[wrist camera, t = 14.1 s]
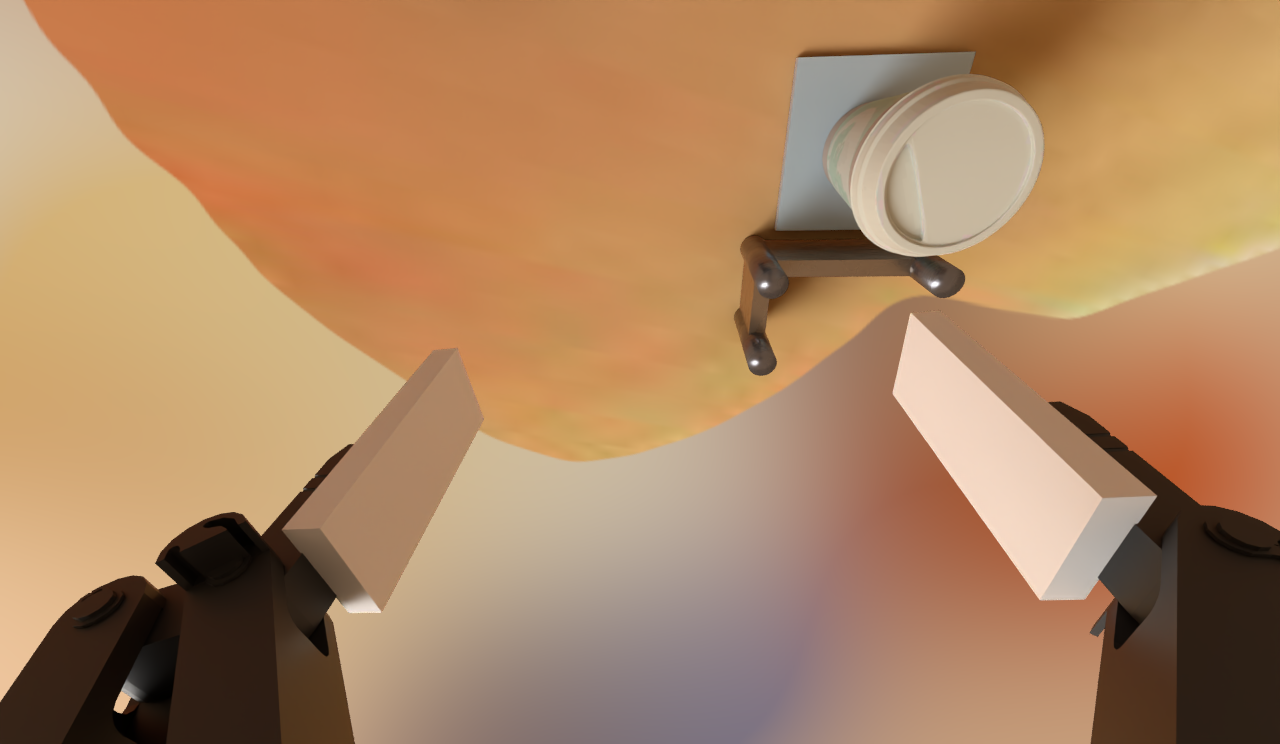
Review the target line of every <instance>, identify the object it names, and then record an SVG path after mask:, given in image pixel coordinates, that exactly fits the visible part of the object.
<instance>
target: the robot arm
mask: <svg viewBox="0 0 1280 744" xmlns="http://www.w3.org/2000/svg"><path fill="white" fill-rule="evenodd" d="M893 395H894V396H895V398H896V399H897V401H898V402H899V403H900V405H901V406H902V407H903V409H904V410H905V412H906V413H907V415H908V416H909V417H910V419H911V420H912V422H913V423H914V424H915V426H916V427H917V429H918V430H919V431H920V433H921V434H922V436H923V437H924V438H925V440H926V441H927V443H928V444H929V445H930V447H931V448H932V450H933V451H934V452H935V454H936V455H937V457H938V458H939V459H940V461H941V462H942V464H943V465H944V466H945V468H946V469H947V470H948V472H949V473H950V475H951V476H952V477H953V479H954V480H955V482H956V483H957V485H958V486H959V487H960V489H961V490H962V492H963V493H964V494H965V496H966V497H967V498H968V500H969V501H970V503H971V504H972V506H973V507H974V508H975V510H976V511H977V512H978V514H979V515H980V517H981V518H982V520H983V521H984V522H985V524H986V525H987V527H988V528H989V529H990V531H991V532H992V534H993V535H994V536H995V538H996V539H997V541H998V542H999V543H1000V545H1001V546H1002V548H1003V549H1004V550H1005V552H1006V553H1007V555H1008V556H1009V557H1010V559H1011V560H1012V562H1013V563H1014V564H1015V566H1016V567H1017V568H1018V570H1019V571H1020V573H1021V574H1022V576H1023V577H1024V579H1025V580H1026V581H1027V583H1028V584H1029V586H1030V587H1031V588H1032V590H1033V591H1034V593H1035V594H1036V595H1037V597H1038V598H1039V599H1040V600H1077V599H1085V598H1086V597H1087V595H1088V594H1089V593H1090V591H1091V590H1092V588H1093V587H1094V585H1095V584H1096V583H1097V581H1098V580H1101V582H1102V583H1103V584H1104V585H1105V586H1106V588H1107V589H1108V590H1109V591H1110V592H1111V593H1112V595H1113V596H1114V597H1115V598H1114V599H1113V601H1112V602H1111V603H1110V605H1109V606H1108V607H1107V609H1106V610H1105V611H1104V613H1103V614H1102V615H1101V617H1100V618H1099V619H1098V620H1097V622H1096V623H1095V624H1094V626H1093V628H1092V630H1091V631H1090V633H1091V634H1093V635H1095V636H1097V637H1098V636H1099V634H1100V633H1101V632H1102V631H1103V629H1105V632H1104V639H1103V648H1102V656H1101V664H1100V672H1099V680H1098V689H1097V697H1096V706H1095V713H1094V721H1093V730H1092V738H1091V744H1280V531H1279V530H1277V529H1275V528H1273V527H1272V526H1270V525H1268V524H1266V523H1264V522H1263V521H1260V520H1258V519H1255V518H1253V517H1250V516H1248V515H1245V514H1243V513H1240V512H1237V511H1233V510H1229V509H1225V508H1221V507H1216V506H1203V505H1202V506H1201V505H1200V504H1198V503H1197V502H1196V501H1195V500H1193V499H1192V498H1191V497H1189V496H1188V495H1187V494H1186V493H1184V492H1183V491H1182V490H1181V489H1180V488H1178V487H1177V486H1176V485H1175V484H1173V483H1172V482H1171V481H1170V480H1168V479H1167V478H1166V477H1165V476H1163V475H1162V474H1161V473H1160V472H1158V471H1157V470H1156V469H1155V468H1153V467H1152V466H1151V465H1150V464H1148V463H1147V462H1146V461H1145V460H1143V459H1142V458H1141V457H1140V456H1139V455H1137V454H1136V453H1135V452H1133V451H1129V450H1128V447H1127V446H1126V445H1125V444H1124V443H1122V442H1121V441H1120V440H1119V439H1117V438H1116V437H1114V436H1110V433H1109V431H1107V430H1106V429H1105V428H1104V427H1102V426H1101V425H1100V424H1098V423H1097V422H1096V421H1095V420H1094V419H1092V418H1091V417H1090V416H1088V415H1087V414H1084V413H1082V412H1080V411H1078V410H1076V409H1074V408H1072V407H1070V406H1068V405H1066V404H1064V403H1062V402H1047V401H1046V400H1044V399H1043V398H1042V397H1041V396H1040V395H1039V394H1037V393H1036V392H1035V391H1034V390H1033V389H1032V388H1030V387H1029V386H1028V385H1027V384H1026V383H1025V382H1023V381H1022V380H1021V379H1020V378H1019V377H1017V376H1016V375H1015V374H1014V373H1013V372H1012V371H1011V370H1009V369H1008V368H1007V367H1006V366H1005V365H1003V364H1002V363H1001V362H1000V361H999V360H997V359H996V358H995V357H994V356H993V355H992V354H990V353H989V352H988V351H987V350H986V349H985V348H984V347H982V346H981V345H980V344H979V343H978V342H977V341H975V340H974V339H973V338H972V337H970V335H968V334H967V333H966V332H965V331H964V330H963V329H961V328H960V327H959V326H958V325H957V324H955V323H954V322H953V321H952V320H951V319H950V318H948V317H947V316H946V315H945V314H944V313H943V312H941V311H940V310H938V311H926V312H925V311H924V312H912V313H911V314H910V318H909V322H908V327H907V331H906V336H905V340H904V345H903V349H902V354H901V359H900V363H899V368H898V372H897V377H896V381H895V385H894V390H893ZM483 420H484V418H483V415H482V412H481V410H480V407H479V404H478V402H477V399H476V396H475V394H474V391H473V388H472V386H471V383H470V380H469V378H468V375H467V372H466V370H465V367H464V364H463V362H462V359H461V356H460V354H459V351H458V348H454V349H441V350H433V351H432V353H431V354H430V355H429V356H428V357H427V359H426V360H425V361H424V362H423V363H422V364H421V366H420V367H419V368H418V369H417V370H416V372H415V373H414V374H413V375H412V376H411V377H410V379H409V380H408V381H407V382H406V383H405V385H404V386H403V387H402V388H401V389H400V390H399V392H398V393H397V394H396V395H395V396H394V398H393V399H392V400H391V401H390V402H389V404H388V405H387V406H386V407H385V408H384V409H383V411H382V412H381V413H380V414H379V416H378V417H377V418H376V419H375V420H374V421H373V422H372V424H371V425H370V426H369V427H368V428H367V429H366V431H365V432H364V433H363V434H362V435H361V437H360V438H359V439H358V440H357V442H355V444H349V445H347V446H346V447H345V448H344V449H342V450H341V451H339V452H338V453H337V454H335V455H334V456H332V457H331V458H330V459H329V460H328V461H327V462H326V463H325V464H324V465H323V467H322V468H321V469H320V470H319V471H318V472H317V473H316V474H315V478H312V479H311V480H310V481H309V482H308V484H307V485H306V486H305V487H304V488H303V489H304V490H303V492H300V493H299V494H298V495H297V496H296V497H295V498H294V500H293V501H292V502H291V503H290V504H289V505H288V506H287V508H286V509H285V510H284V511H283V512H282V513H281V514H280V515H279V517H278V518H277V519H276V520H275V521H274V522H273V523H272V525H271V526H270V527H269V528H268V529H267V530H266V532H265V533H264V534H263V535H262V536H260V534H259V533H258V532H257V531H256V530H255V529H254V527H253V526H252V525H251V524H250V523H249V522H248V520H247V519H246V518H245V517H244V516H243V515H242V514H239V513H235V512H231V513H223V514H219V515H216V516H213V517H211V518H207V519H205V520H203V521H201V522H199V523H197V524H195V525H194V526H192V527H190V528H188V529H187V530H185V531H184V532H182V533H181V534H180V535H178V536H177V537H176V538H174V539H173V540H172V541H171V542H170V543H169V544H168V545H167V546H166V547H165V548H164V549H163V550H162V552H161V553H160V555H159V557H158V559H157V561H156V563H155V564H156V565H158V566H159V567H160V568H161V569H162V570H163V571H164V572H165V573H167V575H168V576H170V577H171V578H172V579H173V580H174V581H175V582H176V583H177V584H175V585H171V586H168V587H165V588H161V589H157V588H155V587H154V586H153V585H152V584H151V583H150V582H148V581H147V580H146V579H145V578H144V577H142V576H129V577H124V578H121V579H117V580H115V581H112V582H110V583H108V584H106V585H103V586H101V587H99V588H97V589H95V590H93V591H92V593H88V594H87V595H85V596H84V597H82V598H81V599H80V600H79V601H78V602H77V603H75V604H74V605H73V606H72V607H70V608H69V609H68V610H67V611H66V612H65V613H64V614H63V615H62V616H61V617H60V618H59V619H58V620H57V622H56V623H55V624H54V625H53V626H52V628H51V629H50V631H49V632H48V634H47V635H46V637H45V638H44V639H43V641H42V642H41V644H40V645H39V647H38V648H37V650H36V651H35V652H34V654H33V655H32V657H31V658H30V660H29V661H28V663H27V664H26V666H25V667H24V668H23V670H22V671H21V673H20V674H19V676H18V677H17V679H16V680H15V681H14V683H13V685H12V686H11V687H10V689H9V690H8V692H7V693H6V695H5V696H4V698H3V699H2V700H1V702H0V744H355V742H354V737H353V731H352V726H351V720H350V715H349V709H348V703H347V698H346V692H345V686H344V681H343V675H342V670H341V664H340V659H339V653H338V648H337V642H336V636H335V631H334V625H333V622H332V620H331V618H330V617H329V615H328V614H327V613H326V612H327V610H328V609H329V607H330V606H331V604H332V603H333V601H334V600H335V598H337V599H338V600H339V602H340V603H341V604H342V605H343V606H344V608H345V609H346V610H347V611H348V613H372V612H373V613H376V612H377V613H379V612H382V611H383V609H384V607H385V606H386V604H387V602H388V600H389V598H390V596H391V594H392V592H393V590H394V588H395V587H396V585H397V583H398V581H399V579H400V577H401V575H402V573H403V572H404V569H405V568H406V566H407V564H408V562H409V560H410V558H411V556H412V554H413V553H414V551H415V549H416V547H417V545H418V543H419V541H420V539H421V537H422V536H423V534H424V532H425V530H426V528H427V526H428V524H429V522H430V520H431V518H432V517H433V515H434V513H435V511H436V509H437V507H438V505H439V503H440V502H441V499H442V498H443V495H444V494H445V492H446V490H447V488H448V486H449V485H450V483H451V481H452V479H453V477H454V475H455V473H456V471H457V469H458V467H459V465H460V464H461V462H462V460H463V458H464V456H465V454H466V452H467V450H468V449H469V447H470V445H471V443H472V441H473V439H474V437H475V435H476V433H477V431H478V430H479V428H480V426H481V424H482V422H483ZM121 691H122V692H124V693H125V694H127V695H128V696H130V697H131V699H130V701H129V703H128V705H127V707H126V709H125V710H124V711H123V713H122V714H121V713H117V712H116V711H114V710H113V709H114V706H115V702H116V700H117V697H118V695H119V694H120V692H121Z"/></svg>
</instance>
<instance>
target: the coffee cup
mask: <svg viewBox="0 0 1280 744" xmlns="http://www.w3.org/2000/svg"><path fill="white" fill-rule="evenodd" d="M1043 156H1044V133H1043V129H1042V124H1041V122H1040V120H1039V117H1038V115H1037V114H1036V112H1035V111H1034V109H1033V108H1032V107H1031V106H1030V104H1029V103H1028V102H1027V101H1026V99H1025V98H1024V97H1023V96H1022V95H1021V94H1020V93H1019V92H1018V91H1017V90H1016V89H1014V88H1013V87H1012V86H1010V85H1008V84H1006V83H1004V82H1002V81H999V80H997V79H994V78H992V77H988V76H985V75H979V74H958V75H952V76H947V77H943V78H940V79H937V80H934V81H932V82H929V83H927V84H925V85H923V86H921V87H919V88H917V89H916V90H914V91H912V92H908V93H904V94H900V95H896V96H892V97H888V98H884V99H880V100H876V101H873V102H869V103H865V104H862V105H859V106H857V107H855V108H853V109H852V110H850V111H849V112H847V113H846V114H845V115H843V116H842V117H841V118H840V119H839V120H838V121H837V123H836V124H835V125H834V126H833V128H832V129H831V131H830V133H829V135H828V137H827V139H826V142H825V145H824V149H823V156H822V162H823V169H824V172H825V175H826V177H827V179H828V180H829V182H830V183H831V184H832V185H833V187H834V188H835V189H836V191H837V192H838V193H839V194H840V196H841V197H842V198H843V199H844V201H845V202H846V203H847V204H848V205H849V207H850V208H851V209H852V211H853V215H854V218H855V220H856V222H857V224H858V226H859V228H860V229H861V231H862V232H863V234H864V235H865V236H866V237H867V238H868V239H869V240H870V241H871V242H873V243H874V244H875V245H877V246H879V247H880V248H882V249H884V250H887V251H890V252H893V253H897V254H901V255H905V256H914V257H923V256H933V255H944V254H950V253H954V252H958V251H961V250H964V249H966V248H969V247H971V246H973V245H975V244H977V243H979V242H981V241H983V240H984V239H986V238H987V237H989V236H990V235H992V234H993V233H995V232H996V231H997V230H998V229H1000V228H1001V227H1002V226H1003V225H1004V224H1005V223H1007V222H1008V221H1009V220H1010V219H1011V218H1012V216H1013V215H1014V214H1015V213H1016V212H1017V211H1018V210H1019V208H1020V207H1021V206H1022V205H1023V203H1024V202H1025V200H1026V199H1027V197H1028V196H1029V194H1030V192H1031V191H1032V189H1033V187H1034V185H1035V183H1036V180H1037V178H1038V175H1039V173H1040V170H1041V166H1042V162H1043Z"/></svg>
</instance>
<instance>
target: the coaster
mask: <svg viewBox="0 0 1280 744" xmlns="http://www.w3.org/2000/svg"><path fill="white" fill-rule="evenodd" d="M975 53H976V52H948V53H918V54H888V55H857V56H827V57H798V58H796V63H795V71H794V79H793V87H792V94H791V102H790V110H789V118H788V126H787V134H786V142H785V150H784V158H783V166H782V174H781V182H780V190H779V198H778V205H777V213H776V221H775V230H776V231H792V230H861V229H860V228H859V226H858V224H857V222H856V220H855V218H854V215H853V211H852V209H851V208H850V207H849V205H848V204H847V203H846V202H845V201H844V199H843V198H842V197H841V196H840V194H839V193H838V192H837V191H836V189H835V188H834V187H833V185H832V184H831V183H830V182H829V180H828V179H827V177H826V175H825V172H824V169H823V162H822V156H823V149H824V145H825V142H826V139H827V137H828V135H829V133H830V131H831V129H832V128H833V126H834V125H835V124H836V123H837V121H838V120H839V119H840V118H841V117H842V116H843V115H845V114H846V113H847V112H849V111H850V110H852V109H853V108H855V107H857V106H859V105H862V104H865V103H869V102H873V101H876V100H880V99H884V98H888V97H892V96H896V95H900V94H904V93H908V92H912V91H914V90H916V89H917V88H919V87H921V86H923V85H925V84H927V83H929V82H932V81H934V80H937V79H940V78H943V77H947V76H952V75H958V74H970V70H971V67H972V64H973V60H974V57H975Z"/></svg>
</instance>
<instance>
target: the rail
mask: <svg viewBox="0 0 1280 744" xmlns="http://www.w3.org/2000/svg"><path fill="white" fill-rule="evenodd" d="M740 251H741V254H742V256H743V259H744V269H743V280H742V290H741V300H740V308H739V309H738V310H737V311H736V313H735V315H734V320H735V323H736V326H737V330H738V333H739V337H740V340H741V343H742V347H743V350H744V353H745V357H746V360H747V364H748V367H749V370H750V371H751V372H752V373H753V374H755V375H759V376H763V375H767V374H769V373H771V372H772V371H773V370H774V369H775V367H776V364H777V361H776V358H775V355H774V353H773V350H772V348H771V345H770V343H769V340H768V338H767V335H766V333H765V328H766V320H767V312H768V305H769V299H774V298H778V297H780V296H781V295H783V294H784V293H785V292H786V290H787V288H788V285H789V280H788V277H847V276H910V277H912V278H913V279H914V280H915V281H917V282H918V283H919V284H921V285H922V286H923V287H925V288H926V289H927V290H928V291H930V292H931V293H932V294H934V295H935V296H937V297H939V298H947V297H950V296H952V295H954V294H956V293H957V292H958V291H959V290H960V289H961V288H962V287H963V285H964V282H965V275H964V273H963V272H962V271H961V270H960V269H958V268H957V267H955V266H953V265H952V264H950V263H949V262H947V261H945V260H944V259H942V258H940V257H939V256H937V255H933V256H923V257H914V256H905V255H901V254H897V253H893V252H890V251H887V250H884V249H882V248H880V247H879V246H877V245H875V244H874V243H873V242H871V241H870V240H869V239H833V240H763V238H761V237H760V236H756V235H753V236H749V237H747V238H746V239H745V240H744V241H743V242H742V244H741V248H740Z"/></svg>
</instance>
